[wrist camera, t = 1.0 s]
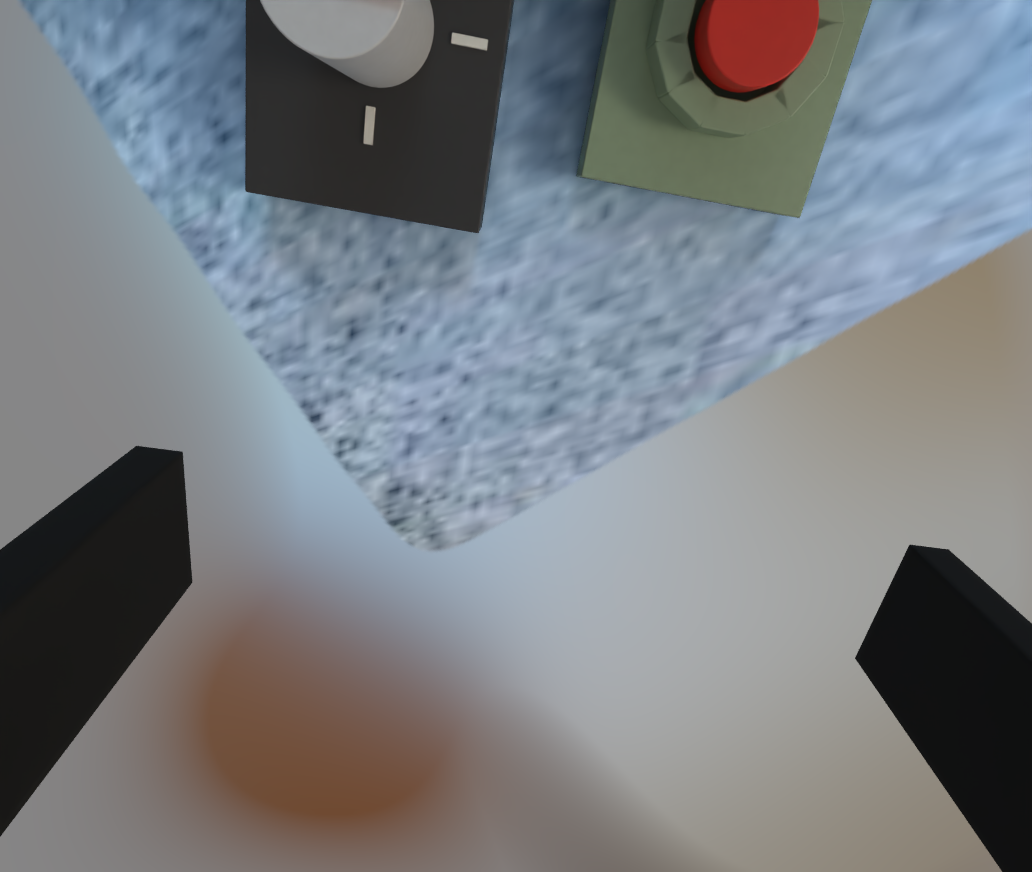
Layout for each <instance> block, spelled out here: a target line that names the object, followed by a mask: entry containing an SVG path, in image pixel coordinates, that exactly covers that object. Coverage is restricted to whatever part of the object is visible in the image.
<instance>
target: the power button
mask: <svg viewBox="0 0 1032 872" xmlns="http://www.w3.org/2000/svg"><path fill="white" fill-rule="evenodd" d="M818 21H819V2H818V0H705V2H704V4H703V6H702V8H701V10H700V13H699V15H698V19H697V22H696V27H695V36H694V44H695V52H696V57H697V60H698V63H699V65H700V67H701V69H702V71H703V73H704V74H705V75H706V77H707V78H708V79H709V80H710V81H711V82H712V83H713V84H715V85H716V86H718V87H719V88H721V89H724V90H726V91H730V92H736V93H744V92H750V91H753V90H757V89H760V88H763V87H766V86H769V85H772V84H774V83H777V82H779V81H781V80H782V79H784V78H785V77H787V76H788V75H789V74H791V73H792V72H793V71H794V70H795V69H796V68H797V67H798V66H799V65H800V63H801V62H802V61H803V60H804V58H805V57H806V55H807V53H808V52H809V50H810V48H811V46H812V44H813V41H814V38H815V35H816V31H817V27H818Z"/></svg>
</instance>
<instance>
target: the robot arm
mask: <svg viewBox="0 0 1032 872" xmlns="http://www.w3.org/2000/svg"><path fill="white" fill-rule="evenodd" d="M187 519H188V518H187V505H186V491H185V478H184V464H183V453H182V452H180V451H172V450H164V449H157V448H149V447H141V446H136V447H134V448H133V449H132V450H130V451H129V452H128V453H127V454H125V455H124V456H123V457H121V458H120V459H119V460H118V461H116V462H115V463H113V464H112V465H111V466H109V467H108V468H107V469H106V470H104V471H103V472H102V473H101V474H99V475H98V476H97V477H95V478H94V479H92V480H91V481H90V482H89V483H87V484H86V485H85V486H83V487H82V488H81V489H79V490H78V491H77V492H75V493H74V494H73V495H71V496H70V497H69V498H68V499H66V500H65V501H64V502H62V503H61V504H60V505H58V506H57V507H56V508H55V509H53V510H52V511H50V512H49V513H48V514H47V515H45V516H44V517H43V518H41V519H40V520H39V521H37V522H36V523H35V524H33V525H32V526H31V527H29V528H28V529H27V530H26V531H24V532H23V533H22V534H20V535H19V536H18V537H16V538H15V539H14V540H12V541H11V542H10V543H8V544H7V545H6V546H5V547H3V548H2V549H1V550H0V836H1V835H2V833H3V832H4V831H5V830H6V828H7V827H8V826H9V824H10V823H11V822H12V820H13V819H14V818H15V816H16V815H17V814H18V812H19V811H20V810H21V808H22V807H23V806H24V804H25V803H26V802H27V801H28V799H29V798H30V796H31V795H32V794H33V793H34V791H35V790H36V788H37V787H38V786H39V784H40V783H41V782H42V781H43V779H44V778H45V777H46V775H47V774H48V773H49V771H50V770H51V769H52V767H53V766H54V765H55V763H56V762H57V761H58V759H59V758H60V757H61V755H62V754H63V753H64V751H65V750H66V749H67V748H68V746H69V745H70V744H71V742H72V741H73V740H74V738H75V737H76V736H77V734H78V733H79V732H80V730H81V729H82V728H83V726H84V725H85V724H86V722H87V721H88V720H89V718H90V717H91V716H92V714H93V713H94V712H95V710H96V709H97V708H98V707H99V705H100V704H101V702H102V701H103V700H104V698H105V697H106V696H107V695H108V693H109V692H110V691H111V689H112V688H113V686H114V685H115V684H116V683H117V681H118V680H119V679H120V677H121V676H122V675H123V673H124V672H125V671H126V669H127V668H128V667H129V665H130V664H131V663H132V662H133V660H134V659H135V658H136V656H137V655H138V654H139V652H140V651H141V650H142V648H143V647H144V646H145V644H146V643H147V642H148V640H149V639H150V638H151V636H152V635H153V634H154V632H155V631H156V630H157V628H158V627H159V626H160V625H161V623H162V622H163V620H164V619H165V618H166V616H167V615H168V614H169V613H170V611H171V610H172V609H173V607H174V606H175V605H176V603H177V602H178V601H179V599H180V598H181V597H182V595H183V594H184V593H185V591H186V590H187V589H188V587H189V586H190V585H191V583H192V572H191V559H190V545H189V532H188V520H187ZM855 659H856V660H857V662H858V663H859V665H860V666H861V668H862V669H863V670H864V672H865V673H866V675H867V676H868V678H869V679H870V681H871V682H872V684H873V685H874V686H875V688H876V689H877V691H878V692H879V694H880V695H881V697H882V698H883V699H884V701H885V702H886V704H887V705H888V707H889V708H890V710H891V711H892V712H893V714H894V715H895V717H896V718H897V720H898V721H899V723H900V724H901V726H902V727H903V728H904V730H905V731H906V733H907V734H908V736H909V737H910V739H911V740H912V741H913V743H914V744H915V746H916V747H917V749H918V750H919V751H920V753H921V754H922V756H923V757H924V759H925V760H926V762H927V763H928V765H929V766H930V767H931V769H932V770H933V772H934V773H935V775H936V776H937V777H938V779H939V781H940V782H941V783H942V785H943V786H944V788H945V789H946V790H947V792H948V793H949V795H950V797H951V798H952V799H953V801H954V802H955V804H956V805H957V806H958V808H959V809H960V811H961V812H962V814H963V815H964V817H965V818H966V820H967V821H968V823H969V824H970V825H971V827H972V828H973V830H974V831H975V833H976V834H977V835H978V837H979V838H980V840H981V841H982V843H983V844H984V846H985V847H986V849H987V850H988V851H989V853H990V854H991V856H992V857H993V859H994V860H995V862H996V863H997V864H998V866H999V867H1000V869H1001V870H1002V872H1032V623H1030V622H1029V621H1028V620H1027V619H1026V618H1025V617H1024V616H1023V615H1021V614H1020V613H1019V612H1018V611H1017V610H1016V609H1015V608H1014V607H1012V606H1011V605H1010V604H1009V603H1008V602H1007V601H1006V600H1004V599H1003V598H1002V597H1001V596H1000V595H999V594H998V593H997V592H996V591H994V590H993V589H992V588H991V587H990V586H989V585H988V584H986V582H984V581H983V580H982V579H981V578H980V577H979V576H978V575H977V574H975V573H974V572H973V571H972V570H971V569H970V568H969V567H967V566H966V565H965V564H964V563H963V562H962V561H961V560H960V559H958V558H957V557H956V556H955V555H954V554H953V553H951V551H949V550H948V549H940V548H932V547H924V546H916V545H909V547H908V549H907V551H906V553H905V556H904V557H903V560H902V562H901V564H900V566H899V568H898V570H897V572H896V574H895V576H894V578H893V580H892V582H891V584H890V586H889V589H888V591H887V593H886V595H885V597H884V599H883V601H882V603H881V605H880V607H879V609H878V611H877V614H876V616H875V618H874V620H873V622H872V624H871V626H870V628H869V630H868V632H867V634H866V636H865V639H864V641H863V643H862V645H861V647H860V649H859V651H858V653H857V655H856V657H855Z"/></svg>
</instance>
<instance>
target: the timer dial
mask: <svg viewBox="0 0 1032 872" xmlns="http://www.w3.org/2000/svg"><path fill="white" fill-rule="evenodd" d="M260 1H261V3H262V5H263V7H264V9H265V11H266V13H267V15H268V16H269V18H270V19H271V21H272V22H273V24H274V25H275V26H276V27H277V28H278V30H279V31H280V32H281V33H282V34H283V35H284V36H285V37H286V38H287V39H288V40H289V41H291V42H292V43H293V44H295V45H296V46H297V47H299V48H301V49H302V50H304V51H306V52H308V53H309V54H311V55H313V56H314V57H316V58H318V59H319V60H321V61H323V62H325V63H326V64H328V65H330V66H331V67H333V68H335V69H336V70H338V71H340V72H342V73H343V74H345V75H347V76H348V77H350V78H352V79H353V80H355V81H357V82H359V83H361V84H364V85H367V86H370V87H377V88H387V87H393V86H396V85H399V84H401V83H403V82H405V81H407V80H408V79H410V78H411V77H413V76H414V75H415V74H416V73H417V72H418V71H419V69H420V68H421V67H422V65H423V64H424V62H425V60H426V59H427V57H428V54H429V52H430V49H431V45H432V41H433V35H434V17H433V11H432V6H431V3H430V0H260Z"/></svg>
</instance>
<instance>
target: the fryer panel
mask: <svg viewBox="0 0 1032 872" xmlns="http://www.w3.org/2000/svg"><path fill="white" fill-rule="evenodd" d="M430 3H431V6H432V11H433V17H434V35H433V41H432V45H431V49H430V52H429V54H428V57H427V59H426V60H425V62H424V64H423V65H422V67H421V68H420V69H419V71H418V72H417V73H416V74H415V75H414V76H413V77H411V78H410V79H408V80H407V81H405V82H403V83H401V84H399V85H396V86H393V87H387V88H377V87H370V86H367V85H364V84H361V83H359V82H357V81H355V80H353V79H352V78H350V77H348V76H347V75H345V74H343V73H342V72H340V71H338V70H336V69H335V68H333V67H331V66H330V65H328V64H326V63H325V62H323V61H321V60H319V59H318V58H316V57H314V56H313V55H311V54H309V53H308V52H306V51H304V50H302V49H301V48H299V47H297V46H296V45H295V44H293V43H292V42H291V41H289V40H288V39H287V38H286V37H285V36H284V35H283V34H282V33H281V32H280V31H279V30H278V28H277V27H276V26H275V25H274V24H273V22H272V21H271V19H270V18H269V16H268V15H267V13H266V11H265V9H264V7H263V5H262V3H261V1H260V0H246V167H245V190H246V192H250V193H256V194H262V195H267V196H273V197H278V198H284V199H290V200H295V201H301V202H306V203H312V204H317V205H323V206H329V207H334V208H340V209H345V210H351V211H357V212H362V213H368V214H373V215H379V216H385V217H390V218H396V219H401V220H407V221H412V222H418V223H424V224H429V225H435V226H440V227H446V228H452V229H457V230H463V231H468V232H474V233H479V231H480V229H481V227H482V221H483V214H484V207H485V200H486V193H487V186H488V179H489V172H490V165H491V158H492V151H493V144H494V137H495V130H496V123H497V116H498V109H499V102H500V95H501V88H502V82H503V75H504V68H505V61H506V54H507V47H508V40H509V33H510V26H511V19H512V12H513V5H514V0H430Z"/></svg>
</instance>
